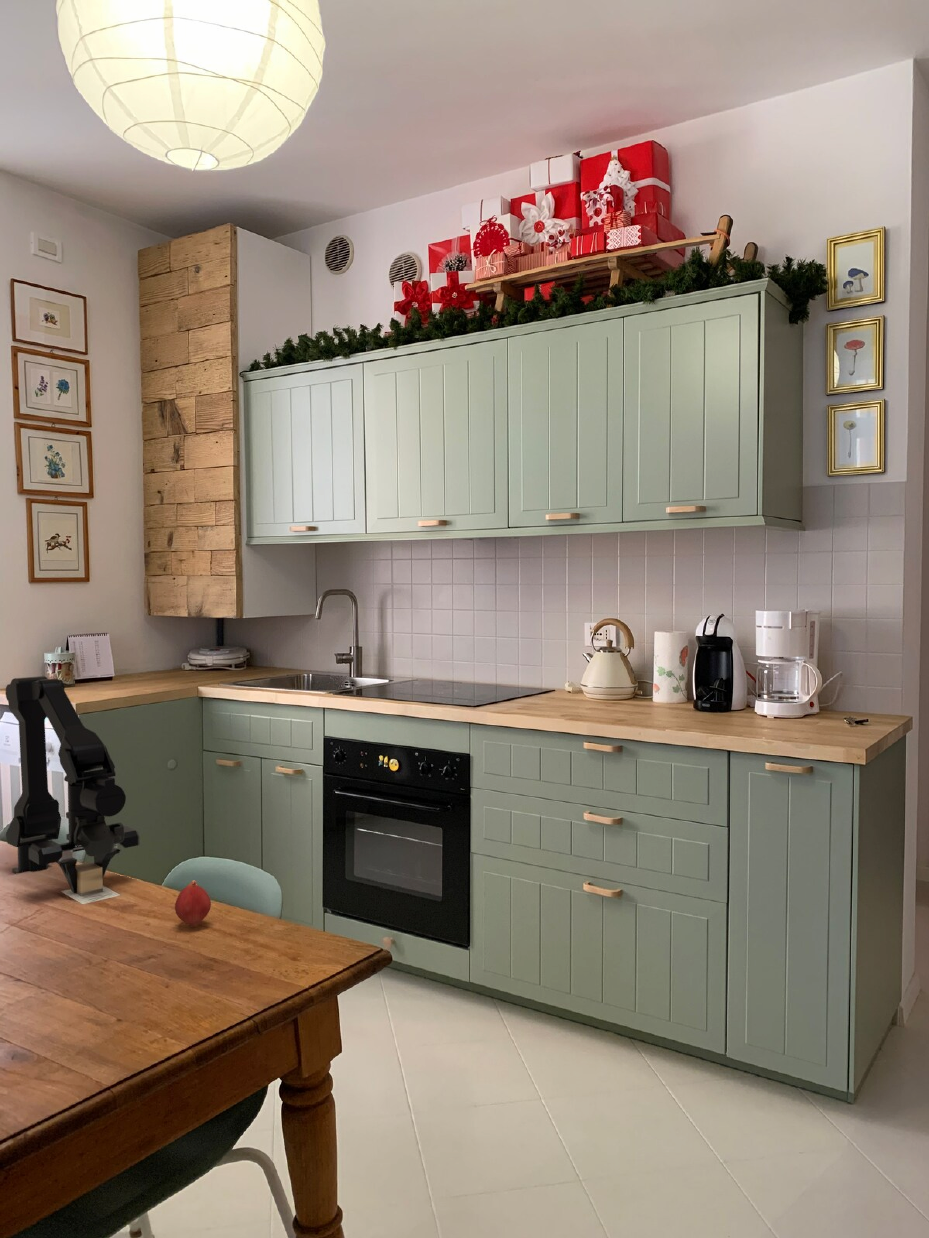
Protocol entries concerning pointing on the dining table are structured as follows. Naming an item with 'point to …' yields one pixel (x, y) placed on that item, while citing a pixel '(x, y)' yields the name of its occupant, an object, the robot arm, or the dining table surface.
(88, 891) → the block
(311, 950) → the dining table surface
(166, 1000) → the dining table surface
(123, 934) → the dining table surface
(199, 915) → the onion
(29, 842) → the robot arm
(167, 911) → the dining table surface
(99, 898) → the board
